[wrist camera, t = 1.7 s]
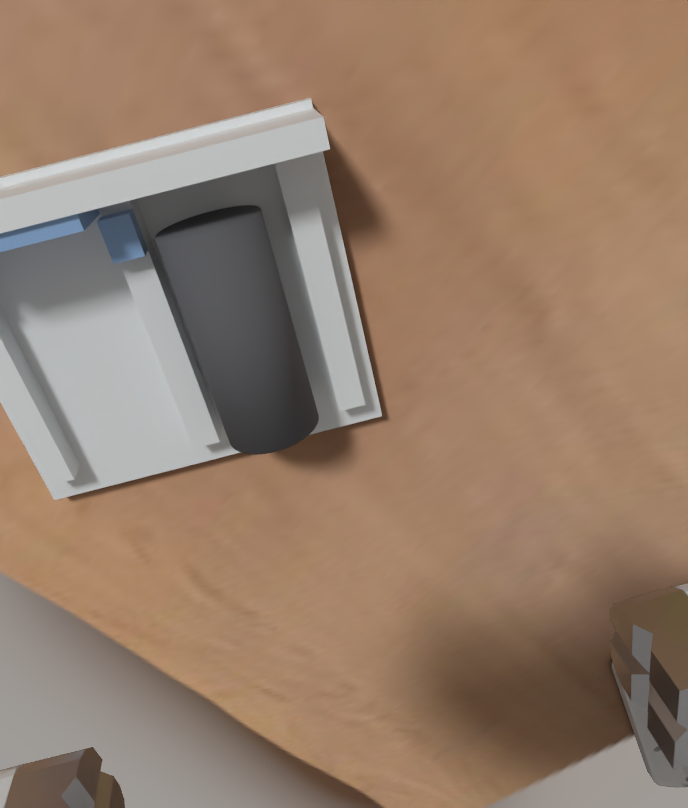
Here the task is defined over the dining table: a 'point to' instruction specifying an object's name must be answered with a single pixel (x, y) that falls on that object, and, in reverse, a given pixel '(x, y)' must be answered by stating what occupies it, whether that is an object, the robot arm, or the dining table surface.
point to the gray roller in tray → (241, 326)
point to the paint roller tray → (161, 295)
